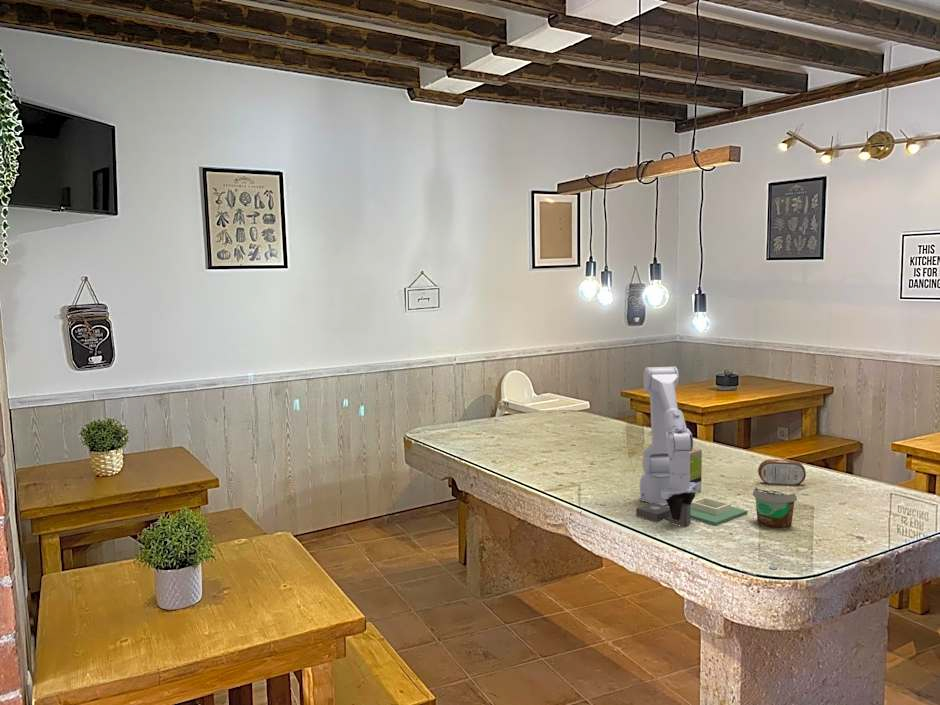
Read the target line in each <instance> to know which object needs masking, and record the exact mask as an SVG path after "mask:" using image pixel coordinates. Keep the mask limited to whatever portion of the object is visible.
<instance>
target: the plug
mask: <svg viewBox="0 0 940 705" xmlns="http://www.w3.org/2000/svg"><path fill="white" fill-rule="evenodd" d="M668 521H669V522H671V523H670V524H672V523H674V525H676V524H677V525H676V526H679V525H680V526H679V527H682V526H683V527H682V528H685V527H688V526H690V525H691V507H690V505H689V504H686V503H682V505H681V511H680V519H679V520H675V519H672V515H671V511H670V508H669V520H668ZM669 522H668V523H669ZM689 524H690V525H689ZM687 525H688V526H687ZM684 526H685V527H684Z"/></svg>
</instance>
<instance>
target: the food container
mask: <svg viewBox="0 0 940 705" xmlns="http://www.w3.org/2000/svg"><path fill="white" fill-rule="evenodd" d="M752 496H753V497H754V499H755V506H756V508H755V510H756V521H757V523H758V524H759V525H761V526H762V525H763V527H765V526H766V527H765V528H771V529H788V528H791V527H792V523H793V517H794V516H793V515H794V507H795V502H796V501H798V499H797V495H796V493H795V492H794V493H791V494H786V493H783V492H779V491H776V490H763V489H760V488H758V486H757V485H755V486H754V488H753V491H752Z"/></svg>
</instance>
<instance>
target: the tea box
mask: <svg viewBox="0 0 940 705" xmlns="http://www.w3.org/2000/svg"><path fill="white" fill-rule="evenodd" d="M689 452H690V482H695V483H698V490H693V492H692V493H695V494H697V493H696V492H698V493H700V492H701V491H702V471H703V470H702V468H703V467H702V465H703V463H702V461H703V460H702V458H703V457H702V456H703V455H702V454H703V453H702V452H703V451H702V449H700V448H696V447H695V448H694V447H693V449H692V451H689ZM663 454H668V453H663ZM652 455H656V454H652ZM699 491H700V492H699Z"/></svg>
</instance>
